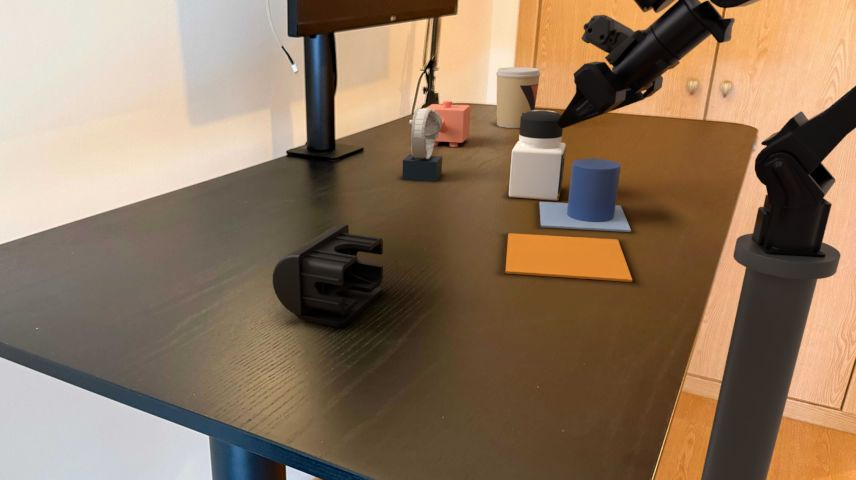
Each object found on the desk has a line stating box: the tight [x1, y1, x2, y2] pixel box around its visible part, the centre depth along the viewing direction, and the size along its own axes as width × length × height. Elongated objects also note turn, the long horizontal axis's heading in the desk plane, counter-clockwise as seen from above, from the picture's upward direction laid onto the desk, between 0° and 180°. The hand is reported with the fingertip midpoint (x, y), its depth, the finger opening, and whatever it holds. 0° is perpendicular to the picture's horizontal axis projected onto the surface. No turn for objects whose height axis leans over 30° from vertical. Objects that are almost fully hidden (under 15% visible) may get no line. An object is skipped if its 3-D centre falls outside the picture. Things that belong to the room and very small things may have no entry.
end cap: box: [272, 224, 384, 329], centre depth 69 cm, size 10×7×7 cm
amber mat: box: [505, 232, 633, 283], centre depth 81 cm, size 13×13×1 cm
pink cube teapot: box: [425, 100, 471, 148], centre depth 139 cm, size 8×12×8 cm, turn 161°
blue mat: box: [538, 201, 632, 233], centre depth 95 cm, size 11×11×1 cm
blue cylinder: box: [567, 158, 621, 222], centre depth 94 cm, size 6×6×7 cm
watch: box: [402, 107, 443, 183], centre depth 114 cm, size 6×8×11 cm
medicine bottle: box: [508, 109, 567, 202], centre depth 104 cm, size 7×7×12 cm
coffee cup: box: [495, 66, 541, 129], centre depth 156 cm, size 9×9×12 cm
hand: (572, 121), depth 99 cm, fingers open, 9 cm apart
